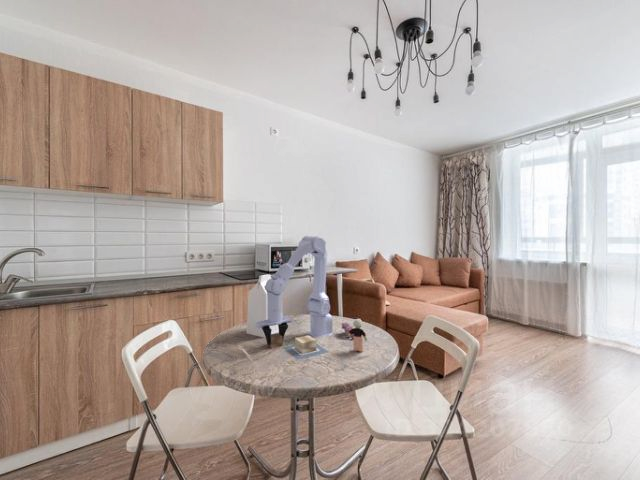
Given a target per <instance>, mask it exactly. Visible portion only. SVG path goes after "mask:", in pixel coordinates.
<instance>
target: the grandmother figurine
mask: <svg viewBox="0 0 640 480" xmlns="http://www.w3.org/2000/svg"><path fill="white" fill-rule="evenodd" d="M362 324H363V321H362V320H361V318H356V319H355V320H353V323H352V325H353V326H354V327H352V328H353V329H351V330H350V331H349V334H348V336H347V337H349V338H351V337H350V336H351V334H354V338H352V341H353V342H352V343H353V344H352V345H353V351H354V352H359V353H364V352H365V350H364V341H365V342H367V341H368V338H367V334H366V333H365V331H364V330H363V329H362V328H361V327H362Z"/></svg>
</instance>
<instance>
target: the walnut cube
mask: <svg viewBox="0 0 640 480" xmlns="http://www.w3.org/2000/svg"><path fill="white" fill-rule="evenodd" d="M266 345H267V346H268V347H269V348H271V349H274V348H279V347H283V342H282V336H281V335H280V334H279V332H278V333H274V334H271V345H268V344H267V343H266Z"/></svg>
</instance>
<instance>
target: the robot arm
mask: <svg viewBox="0 0 640 480" xmlns="http://www.w3.org/2000/svg"><path fill="white" fill-rule="evenodd" d="M326 243H327V241H326V240H325V239H324V238H323V237H322V236H320V235H317V236H314V235H313V236H311V235H310V236H308V235H305V236H303V237H302V238H301V240H300V241H299V242H298V246H297V247H296V248H295V250H294V252H293V253H292V255H291V256H290V257H289V259H288V261H287V262H286V263H282V264H280V265H279V266H278V270H277V271H276V272H275V273H274V274H273V275H271V278H272V279H269V280H268V281H267V282H266V286H264V287H265V290H266V291H267V318H268V319H267V320H264V321H261V322H256V327H257V328H258V329H259V328H262V330H263V332H264V334H265V337H266V338H265V340H266V345H267V344H268V345H271V330H272V329H270V327H269V326H273V325H278V328H279V332H278V333H279V334H280V335H281V336H282V343H283V341H284V337H285V334H286V332H287V331H288V328H289V324H292V323H293V317H291V316H288V317H284V316H283V318H282V315H283V293H284V291H285V289H286V284H287V282H288V281H289V280H290V278H291V277H292V276H293V274H294V273H295V267H297V265H298V264H299V263H300V262H301V260H302V259H303V257H304V256H305V255H307V254H311V255H312V256H313V258H314V265H313V278H312V279H313V282H312V283H313V285H312V292H311V294H310V295H309V298H308V301H307V304H306V308H307V310H308V311H309V314H310V316H309V317H310V330H309V331H307V332H306V334H308V335H309V336H311V337H312V338H314V339H316V338H320V337H324V336H330V335H333V334H334V333H333V317H332V315H331V314H330V311H331V304H330V299H329V296H328V295H327V294H326V281H327V264H328V263H327V262H328V251H327V247H326ZM288 323H289V324H288ZM268 345H267V346H268Z"/></svg>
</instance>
